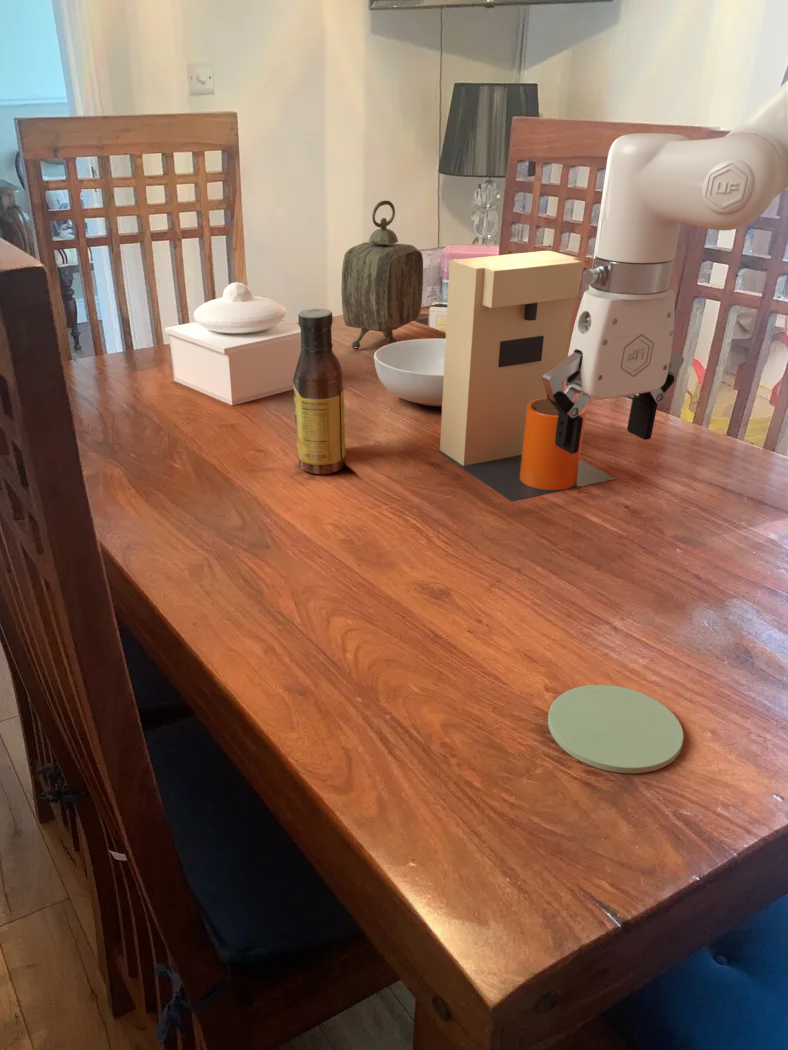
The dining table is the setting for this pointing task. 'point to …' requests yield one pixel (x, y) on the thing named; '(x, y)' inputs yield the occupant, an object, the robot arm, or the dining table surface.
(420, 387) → the serving bowl
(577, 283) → the coffee maker
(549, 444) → the orange cup
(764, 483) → the dining table surface
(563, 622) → the dining table surface
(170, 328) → the white lidded box
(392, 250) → the tabletop clock
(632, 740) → the coaster
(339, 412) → the sauce bottle
